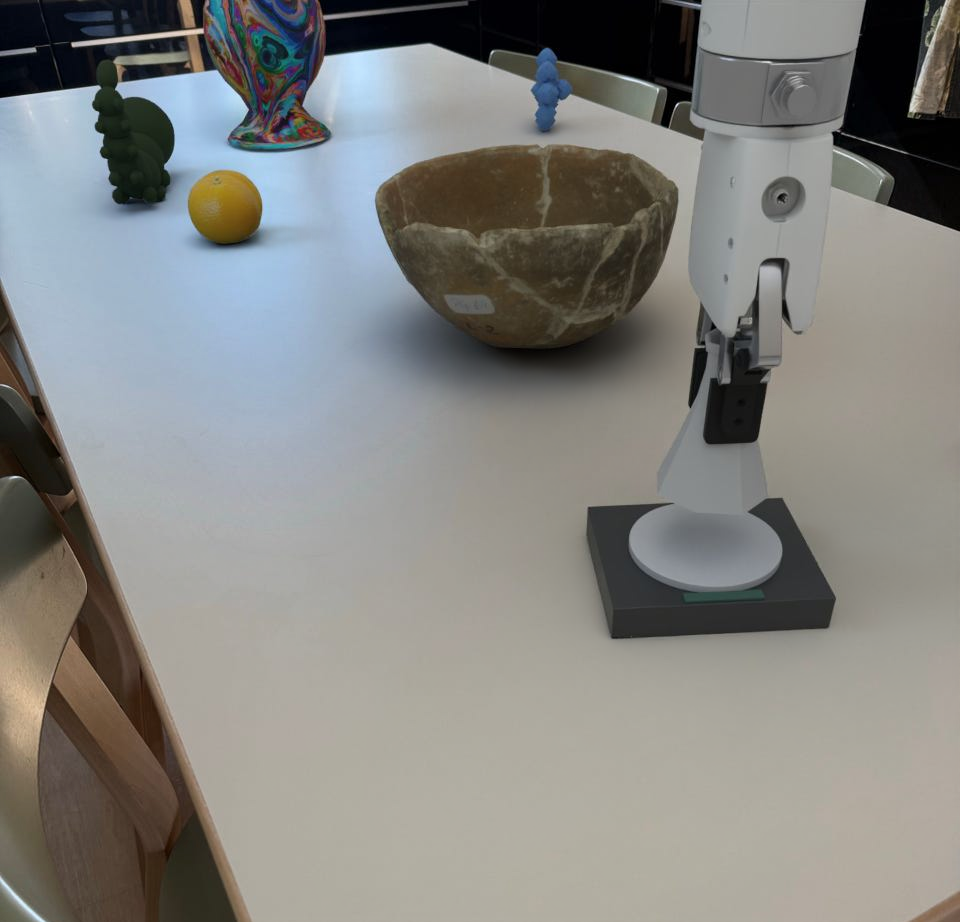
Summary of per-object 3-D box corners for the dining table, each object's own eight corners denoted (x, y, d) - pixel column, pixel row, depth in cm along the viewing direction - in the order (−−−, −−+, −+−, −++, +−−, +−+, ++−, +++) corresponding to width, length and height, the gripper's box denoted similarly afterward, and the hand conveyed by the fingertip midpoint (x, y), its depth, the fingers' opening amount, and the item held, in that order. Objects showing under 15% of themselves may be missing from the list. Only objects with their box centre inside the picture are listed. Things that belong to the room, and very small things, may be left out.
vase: (200, 140, 165) (159, -86, 146) (294, 120, 175) (267, -95, 156) (263, 160, 155) (228, -80, 136) (359, 137, 164) (338, -91, 145)
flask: (673, 451, 69) (690, 306, 62) (781, 473, 66) (810, 324, 60) (638, 503, 64) (652, 351, 57) (753, 529, 61) (780, 373, 55)
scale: (777, 525, 74) (783, 489, 72) (829, 627, 65) (838, 590, 63) (586, 534, 74) (587, 499, 72) (611, 638, 65) (614, 601, 63)
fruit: (195, 254, 122) (181, 184, 117) (195, 233, 129) (182, 166, 124) (269, 248, 124) (258, 178, 119) (265, 227, 130) (255, 160, 125)
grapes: (573, 139, 161) (576, 52, 153) (530, 140, 161) (531, 53, 153) (569, 121, 170) (572, 39, 162) (529, 122, 170) (530, 40, 162)
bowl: (483, 430, 86) (479, 251, 77) (343, 328, 104) (326, 172, 95) (727, 352, 97) (750, 187, 88) (563, 271, 115) (567, 127, 106)
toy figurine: (173, 229, 136) (187, 161, 153) (139, 72, 122) (158, 17, 140) (101, 233, 135) (123, 164, 152) (58, 76, 121) (88, 20, 139)
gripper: (907, 126, 44) (824, 492, 56) (795, 55, 57) (747, 365, 69) (735, 132, 44) (688, 499, 56) (662, 59, 57) (637, 370, 68)
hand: (721, 422), depth 62 cm, fingers closed on flask, 3 cm apart
